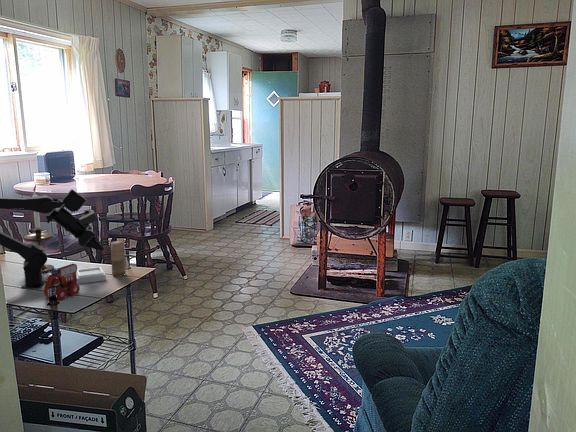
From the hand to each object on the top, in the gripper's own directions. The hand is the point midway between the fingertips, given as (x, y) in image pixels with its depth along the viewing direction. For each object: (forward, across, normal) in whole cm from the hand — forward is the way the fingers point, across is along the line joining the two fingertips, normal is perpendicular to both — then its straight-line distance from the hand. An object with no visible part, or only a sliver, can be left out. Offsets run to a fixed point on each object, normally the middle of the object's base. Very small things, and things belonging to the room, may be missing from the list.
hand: (101, 246), depth 180 cm
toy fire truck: (-2, -16, +20) cm, 25 cm away
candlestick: (-6, +18, +23) cm, 30 cm away
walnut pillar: (+13, 0, +4) cm, 13 cm away
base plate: (+5, 0, +12) cm, 13 cm away
